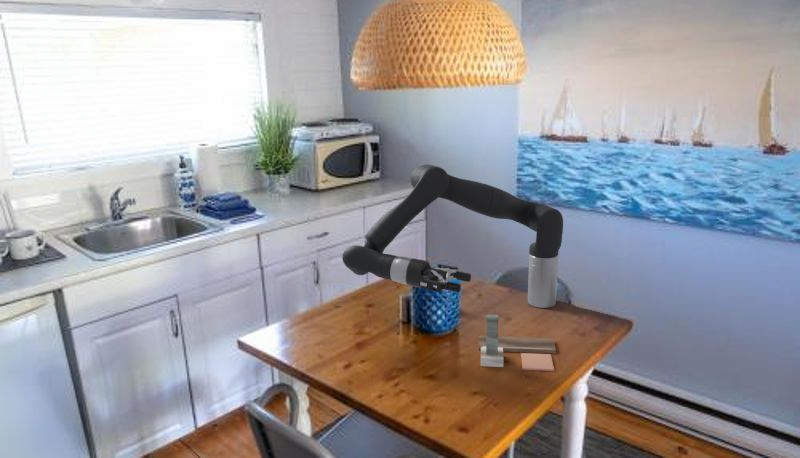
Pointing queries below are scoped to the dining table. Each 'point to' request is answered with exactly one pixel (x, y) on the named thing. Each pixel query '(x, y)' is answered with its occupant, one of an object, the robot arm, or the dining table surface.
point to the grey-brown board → (522, 344)
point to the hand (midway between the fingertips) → (465, 283)
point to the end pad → (537, 362)
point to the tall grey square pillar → (492, 345)
